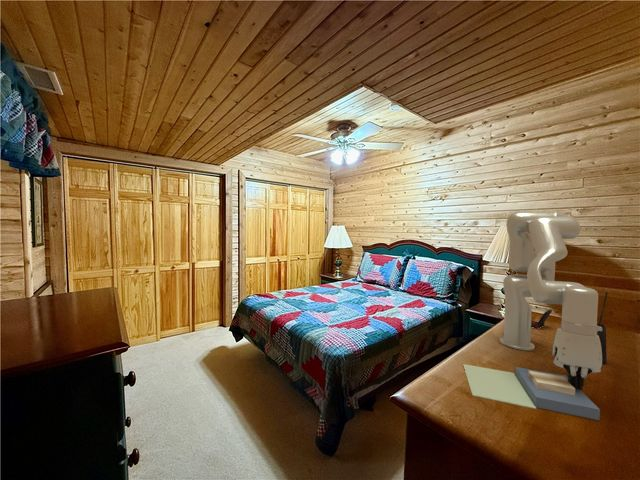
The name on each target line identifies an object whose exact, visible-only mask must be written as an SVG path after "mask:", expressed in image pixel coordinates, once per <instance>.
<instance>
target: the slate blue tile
mask: <svg viewBox="0 0 640 480" xmlns="http://www.w3.org/2000/svg"><path fill="white" fill-rule="evenodd" d="M514 368H515V371H514V374H515V376H516V378H517V379H518V381H519V382H520V384H521V385H522V387H523V388H524V390H525V391H526V393H527V395H528V396H529V398H530V399H531V401H532V402H533V404H534V405H535V407H536V409H543V410H547V411H552V412H558V413H561V414H567V415H571V416H576V417H581V418H586V419H590V420H591V419H592V420H595V421H600V419H601V409H600V408H599V407H598V406H597V405H596V404H595V403H594V402H593V401H592V400H591V399H590V398H589V397H588V396H587V395H586V394H585V393H584V392H583V391H581V390H578V389H577V390H576V389H575V395H570V394H564V393H559V392H554V391H548V390H543V389H537V387H536V386H535V385H534V383H533V382H532V381H531V379H530V378H529V377H528V373H529V371H534V372H540V373H546V374H552V375H558V376H563V377H564V378H565V379H566V380H567V381H568V375H566V374H562V373H561V374H559V373H555V372H554V373H553V372H549V371H542V370H536V369H531V368H530V369H528V368H524V367H520V366H518V367H517V366H515V367H514Z"/></svg>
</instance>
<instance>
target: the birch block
mask: <svg viewBox="0 0 640 480" xmlns="http://www.w3.org/2000/svg"><path fill="white" fill-rule="evenodd" d="M528 377H529V378H530V379H531V381H532V382H533V383H534V385H535V386H536V387H537V389H543V390H548V391H554V392H559V393H564V394H570V395H575V388H574V387H573V386H572V385H571V384H570V383H569V382H568V381H567V380H566V379H565V378H564V377H563V376H558V375H552V374H546V373H540V372H534V371H529V373H528Z"/></svg>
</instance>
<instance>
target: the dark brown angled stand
mask: <svg viewBox="0 0 640 480" xmlns="http://www.w3.org/2000/svg"><path fill="white" fill-rule="evenodd" d="M552 311H553V310H552V309H548V310H546V311H545V312H544V313H543V314H542V316H541V317H540V318H539V321H535V320H531V327H534V328H538V329H537V330H540V329H539V328H540V327H542V326H544V327H545V322H546V320H547V319H548V318H549V317H550V315H551V314H552ZM534 328H533V329H534ZM542 328H543V327H542Z"/></svg>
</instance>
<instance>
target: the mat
mask: <svg viewBox="0 0 640 480" xmlns="http://www.w3.org/2000/svg"><path fill="white" fill-rule="evenodd" d="M462 366H464V367H463V370H464V369H465V370H464V372H465V373H464V374H465V376H466V379H467V382H468V383H467V384H468V386H469V390H470V392H471V396H472V397H477V398H481V399H485V400H486V399H487V400H490V401H495V402H500V403H506V404H510V405H515V406H520V407H524V408H528V409H534V410H537V407H535V405H534V404H533V402H532V401H531V399H530V398H529V396H528V394H527V393H526V391H525V390H524V388H523V387H522V385H521V384H520V382H519V381H518V379H517V377H516V376H515V372H510V371H505V370H500V369H495V368H494V369H493V368H488V367H482V366H476V365H470V364H465V363H463V364H462Z"/></svg>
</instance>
